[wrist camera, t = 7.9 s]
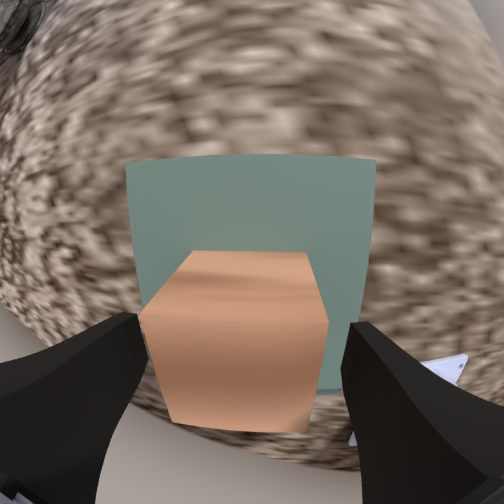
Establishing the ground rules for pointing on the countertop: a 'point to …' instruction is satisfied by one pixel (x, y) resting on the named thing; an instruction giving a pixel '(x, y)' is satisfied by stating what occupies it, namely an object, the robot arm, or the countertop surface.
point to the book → (260, 224)
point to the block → (238, 340)
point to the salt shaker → (18, 23)
